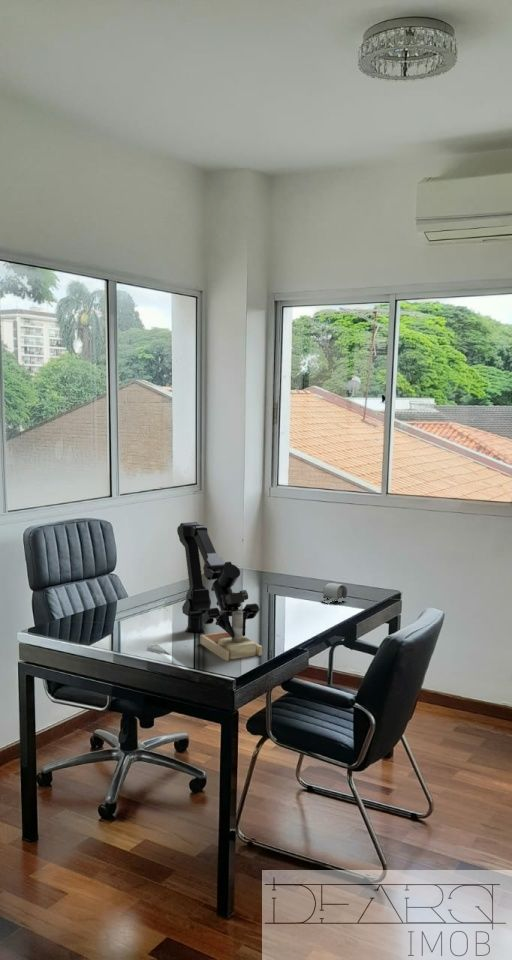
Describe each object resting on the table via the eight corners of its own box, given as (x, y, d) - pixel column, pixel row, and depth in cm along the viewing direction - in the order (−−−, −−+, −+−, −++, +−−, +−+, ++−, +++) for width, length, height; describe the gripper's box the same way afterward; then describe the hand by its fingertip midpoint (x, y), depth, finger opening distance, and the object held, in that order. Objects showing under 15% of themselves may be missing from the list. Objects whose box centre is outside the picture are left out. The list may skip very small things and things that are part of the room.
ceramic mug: (332, 597, 336) (332, 580, 335) (347, 601, 330) (348, 583, 329) (316, 602, 328) (317, 584, 327) (332, 605, 323) (332, 587, 322)
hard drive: (147, 647, 259) (177, 653, 252) (162, 640, 266) (192, 647, 259) (147, 651, 259) (176, 658, 252) (162, 645, 266) (192, 652, 259)
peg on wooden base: (218, 651, 256) (218, 610, 254) (242, 647, 260) (243, 607, 259) (230, 659, 248) (231, 617, 246) (255, 655, 252) (256, 614, 251)
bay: (198, 646, 264) (198, 634, 263) (235, 641, 270) (235, 630, 270) (224, 664, 246) (224, 651, 246) (263, 658, 253) (263, 646, 252)
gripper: (206, 584, 251) (221, 627, 242) (257, 579, 260) (273, 620, 251) (196, 602, 258) (209, 644, 250) (246, 597, 267) (260, 637, 259)
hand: (239, 636), depth 252 cm, fingers closed on peg on wooden base, 3 cm apart
